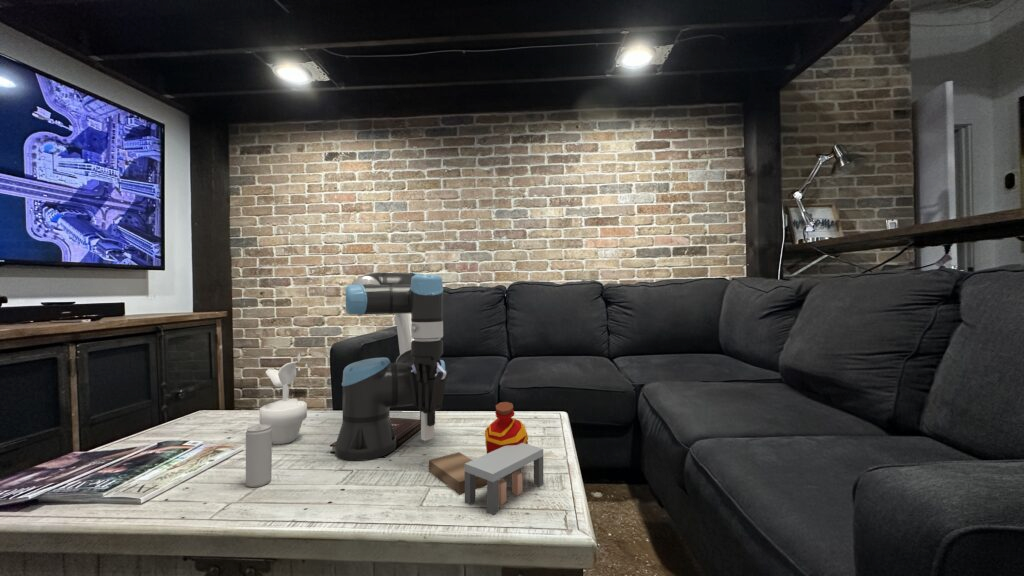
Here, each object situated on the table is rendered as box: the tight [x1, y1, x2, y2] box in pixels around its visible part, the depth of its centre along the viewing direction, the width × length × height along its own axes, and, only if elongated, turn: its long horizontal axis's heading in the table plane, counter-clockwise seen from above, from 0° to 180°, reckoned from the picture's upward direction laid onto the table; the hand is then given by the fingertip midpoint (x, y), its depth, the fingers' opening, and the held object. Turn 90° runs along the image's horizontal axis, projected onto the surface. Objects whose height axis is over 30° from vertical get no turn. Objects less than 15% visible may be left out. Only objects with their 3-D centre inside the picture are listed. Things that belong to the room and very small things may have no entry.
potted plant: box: [259, 352, 309, 445], centre depth 116 cm, size 13×12×25 cm
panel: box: [428, 451, 487, 495], centre depth 92 cm, size 14×8×3 cm, turn 37°
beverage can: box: [245, 423, 273, 488], centre depth 90 cm, size 5×5×12 cm
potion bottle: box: [484, 401, 529, 454], centre depth 95 cm, size 10×10×15 cm
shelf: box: [464, 443, 545, 516], centre depth 85 cm, size 8×16×8 cm, turn 140°
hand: (427, 438), depth 99 cm, fingers closed
